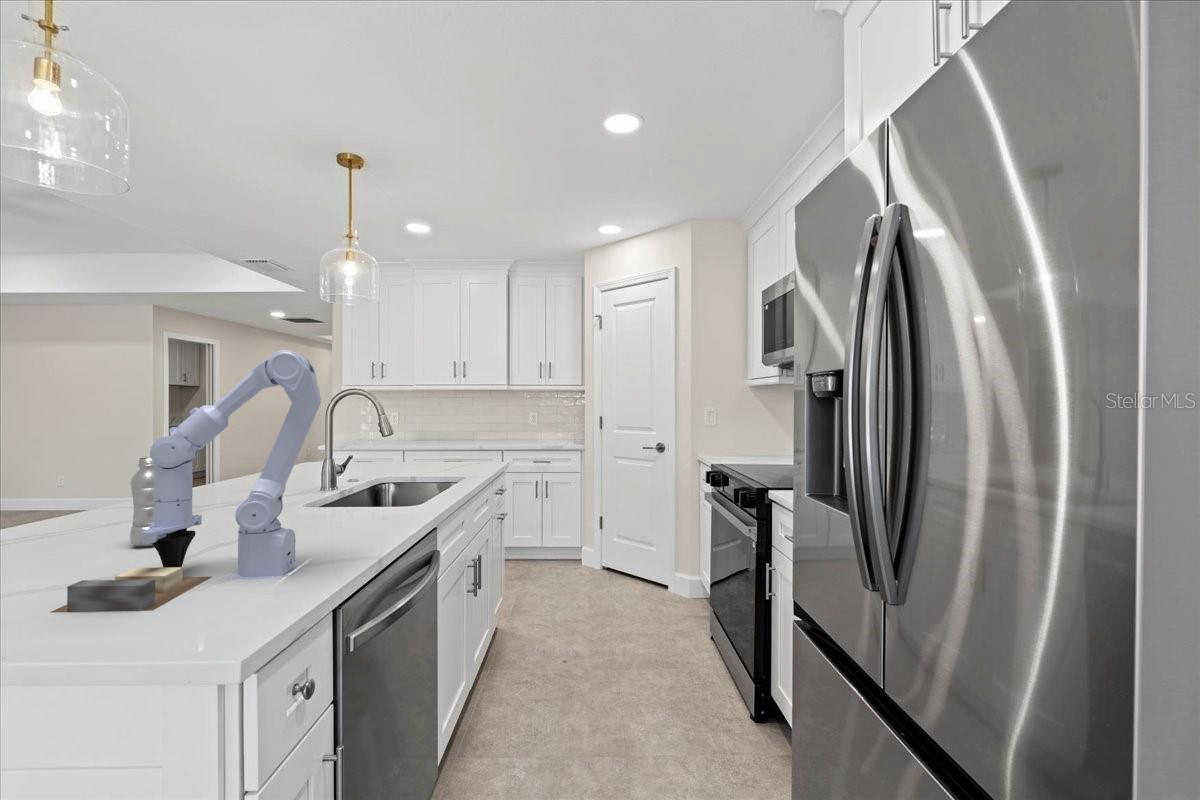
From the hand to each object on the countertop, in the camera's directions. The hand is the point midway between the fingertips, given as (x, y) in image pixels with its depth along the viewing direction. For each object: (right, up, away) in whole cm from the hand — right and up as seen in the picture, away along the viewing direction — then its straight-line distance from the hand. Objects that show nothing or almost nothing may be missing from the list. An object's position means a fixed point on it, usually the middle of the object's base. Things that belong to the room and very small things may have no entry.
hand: (172, 571), depth 108 cm
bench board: (0, -2, -8) cm, 9 cm away
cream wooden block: (+1, -1, -6) cm, 7 cm away
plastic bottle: (-23, -1, +23) cm, 32 cm away
